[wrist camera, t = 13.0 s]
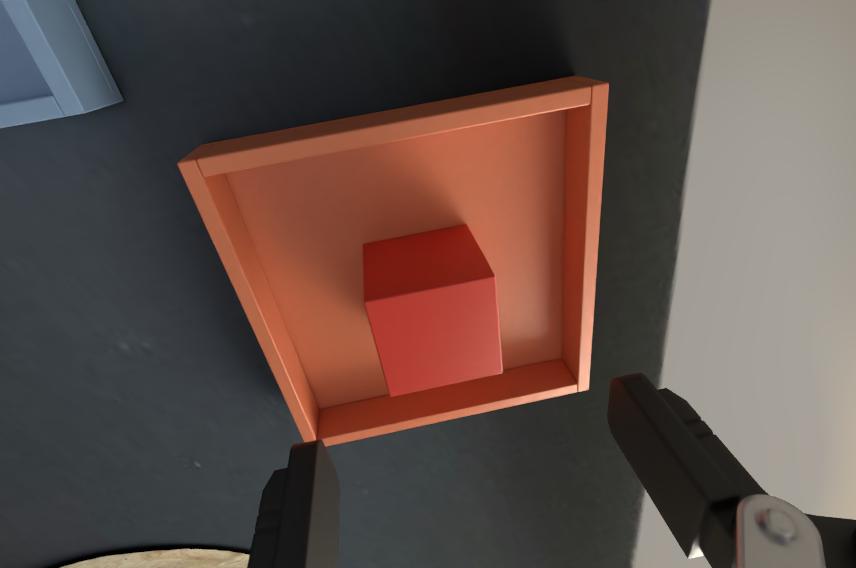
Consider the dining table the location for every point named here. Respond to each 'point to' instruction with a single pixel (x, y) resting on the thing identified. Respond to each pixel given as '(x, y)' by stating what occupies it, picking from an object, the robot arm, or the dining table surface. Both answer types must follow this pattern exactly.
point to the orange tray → (406, 215)
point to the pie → (169, 560)
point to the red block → (432, 309)
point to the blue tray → (49, 63)
